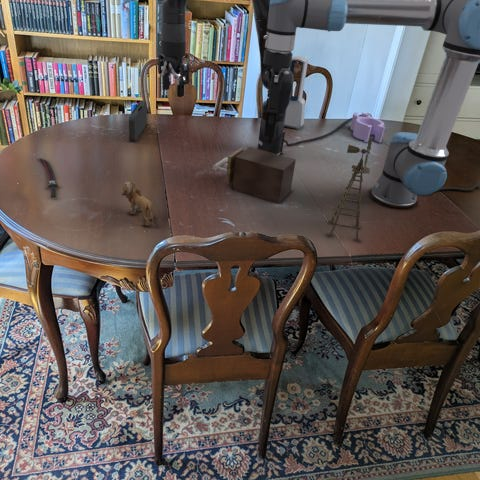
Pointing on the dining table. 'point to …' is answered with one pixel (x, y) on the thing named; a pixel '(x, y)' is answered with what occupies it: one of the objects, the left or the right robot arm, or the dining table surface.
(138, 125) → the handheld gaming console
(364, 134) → the clip
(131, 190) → the lion figurine
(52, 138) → the dining table surface
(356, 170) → the miniature windmill
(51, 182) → the sword
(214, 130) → the dining table surface
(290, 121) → the electronic device
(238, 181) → the cabinet
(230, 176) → the drawer
